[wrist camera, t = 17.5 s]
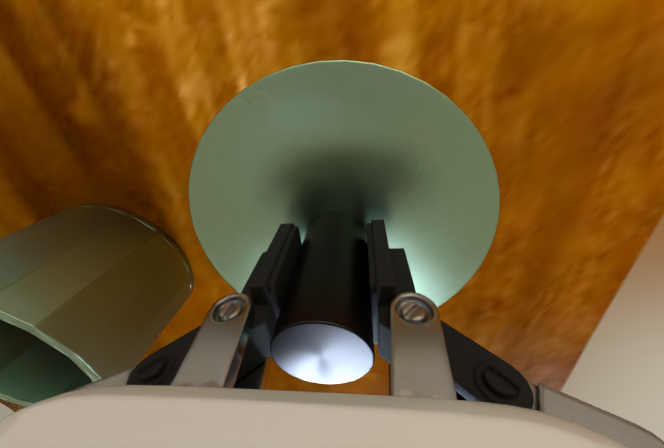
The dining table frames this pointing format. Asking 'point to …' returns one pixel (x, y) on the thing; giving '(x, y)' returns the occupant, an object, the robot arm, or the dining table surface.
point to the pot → (83, 299)
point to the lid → (342, 199)
